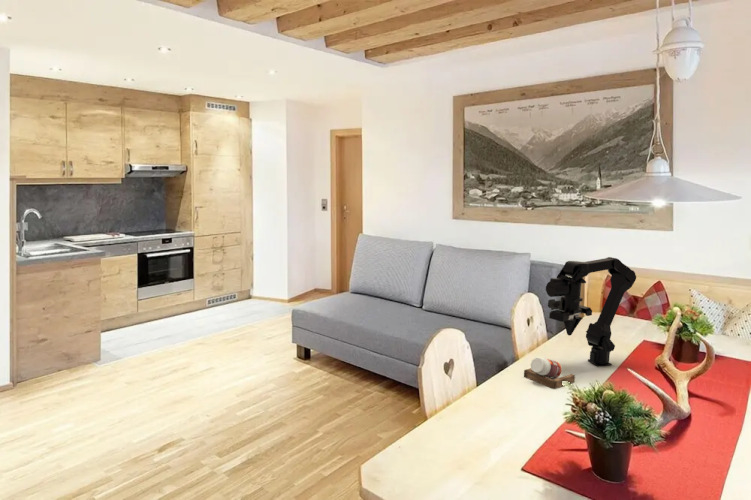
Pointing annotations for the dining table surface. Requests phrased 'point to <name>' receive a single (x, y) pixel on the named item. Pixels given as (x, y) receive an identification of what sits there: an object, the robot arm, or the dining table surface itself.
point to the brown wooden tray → (548, 379)
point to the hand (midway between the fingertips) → (569, 335)
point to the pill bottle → (546, 367)
